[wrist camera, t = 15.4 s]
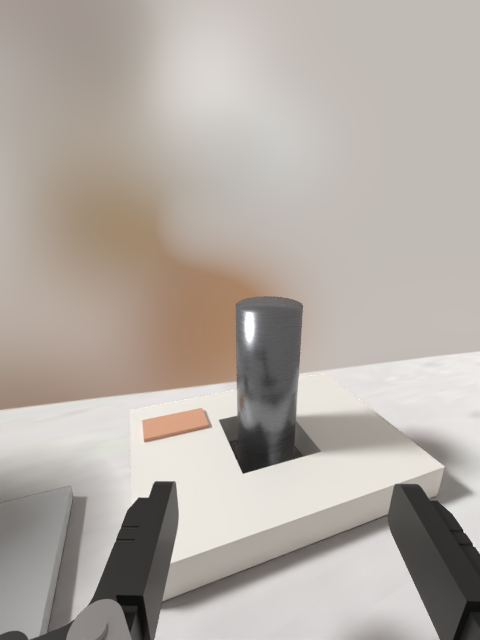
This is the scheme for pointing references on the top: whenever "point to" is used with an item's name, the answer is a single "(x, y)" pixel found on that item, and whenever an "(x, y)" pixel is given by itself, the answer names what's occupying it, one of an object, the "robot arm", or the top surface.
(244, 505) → the plate
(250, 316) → the cylinder
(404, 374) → the top surface
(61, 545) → the mat
